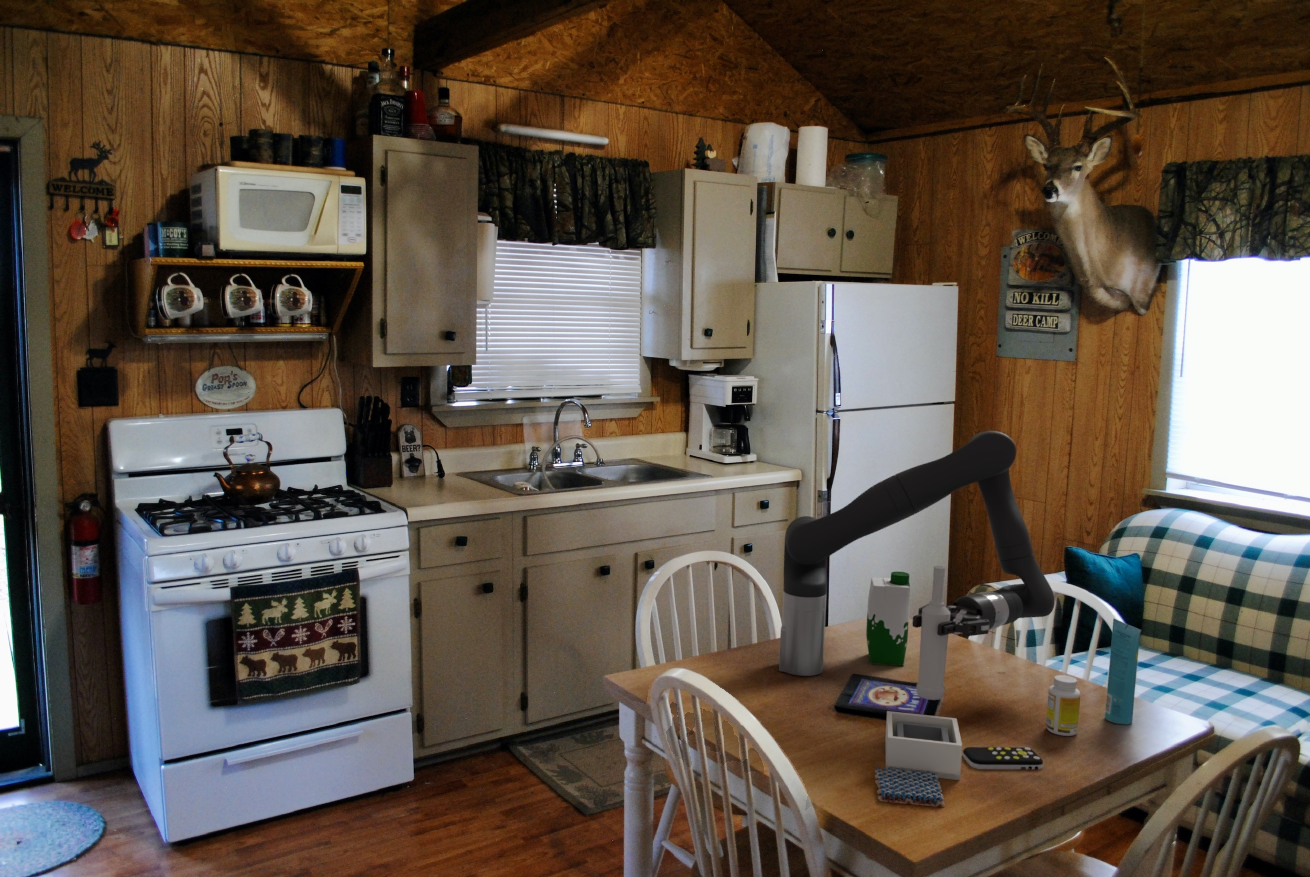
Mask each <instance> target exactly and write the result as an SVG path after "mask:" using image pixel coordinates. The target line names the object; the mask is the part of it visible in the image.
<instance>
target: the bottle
mask: <svg viewBox="0 0 1310 877" xmlns="http://www.w3.org/2000/svg"><path fill="white" fill-rule="evenodd" d="M932 574H933V575H932V576H933V580H932V590H931V592H932V593H931V600H930V601H929V603H928V604H929V605H927V604H926V605H927V606H926V607H925V608H923V609H922V622H921V627H920V642H919V644H920V645H919V665H918V680H917V681H918V682H917V683H916V694H917V696H918V697H920V698H922V699H924V700H932V701H936V700H937V701H939V700H942V699H943V698H944V696H945V690H946V688H945V686H944V683H945V673H946V663H947V654H948V653H947V651H948V641H949V634H948V635H944V636H940V635H938V634H937V631H938V625H939V624H940V623H944V622H948V621H950V611H949V610H948V609H947V608H946V607H947V606H945V602H944V600H943V598H944V588H945V587H944V585H945V577H946V576H945V574H946V567H945V566H943V565H934V566H933V573H932Z"/></svg>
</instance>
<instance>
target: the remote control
mask: <svg viewBox="0 0 1310 877" xmlns="http://www.w3.org/2000/svg"><path fill="white" fill-rule="evenodd" d="M962 758H963V759H964V760H965V761H966V762H967V764H969V766H970V767H972V768H974V769H976V770H977V769H978V770H1041V769H1042V768H1043V766H1044V761H1043V759H1042V757H1040V756H1039V755H1038V753H1036V751H1035V750H1033V749H1032V748H1030V747H1028V746H1027V747H1026V746H1025V747H1022V746H1021V747H1010V746H1009V747H999V746H998V747H994V746H991V747H990V746H987V747H986V746H983V747H981V746H968V747H965V748H963V749H962Z"/></svg>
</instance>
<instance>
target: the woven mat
mask: <svg viewBox="0 0 1310 877" xmlns="http://www.w3.org/2000/svg"><path fill="white" fill-rule="evenodd" d="M874 773H875V774H874V778H875V780H874V782H875V784H876V785H877V789H878V790H877V791H876V793H877V800H878V801H880V802H887V803H888V804H889V803H895V804H896V803H898V804H907V805H916V806H927V807H928V806H929V807H938V808H944V807H945V806H946V803H945V802H944V801H943V800H944V799H945V798H944V794H942V792H943V790H942V787H941V785H940V781H938V780H939V778H938V776H937V775H936V776H935V773H932V775H931V774H930V773H929V771H927V774H926V775H925V772H922V774H923V775H922V774H921V773H920V772H919V771H917V772H916V773H915V771H912V772H910V770H907V771H906V772H905V770H902V771H900V769H898V770H897V771H896V772H895V770H893V772H892V771H891V770H890V768H888V771H886V768H882V769H881V767H880V766H878V767H877V770H875V771H874ZM906 773H907V774H906ZM916 774H917V775H916Z"/></svg>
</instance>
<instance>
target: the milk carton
mask: <svg viewBox="0 0 1310 877" xmlns="http://www.w3.org/2000/svg"><path fill="white" fill-rule="evenodd" d="M910 586H911V585H910V573H908V572H905V571H892V572H891V573H890V577H873V576H872V577H870V585H869V591H868V592H869V593H868V598H867V612H866V613H867V614H866V616H867V617H866V628H865V629H866V631H865V633H866V634H865V637H866V643H867V644H866V645H867V649H868V650H867V651H868V656H869V657H868V658H869V661H870V664H871V665H872V664H873V665H884V666H885V665H887V666H901V667H903V666H904V665H905V660H906V659H905V658H906V652H907V646H908V638H909V623H910V622H909V621H910V606H911V605H910V602H911V601H910V600H911V599H910V597H911V595H910V594H911V587H910Z"/></svg>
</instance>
